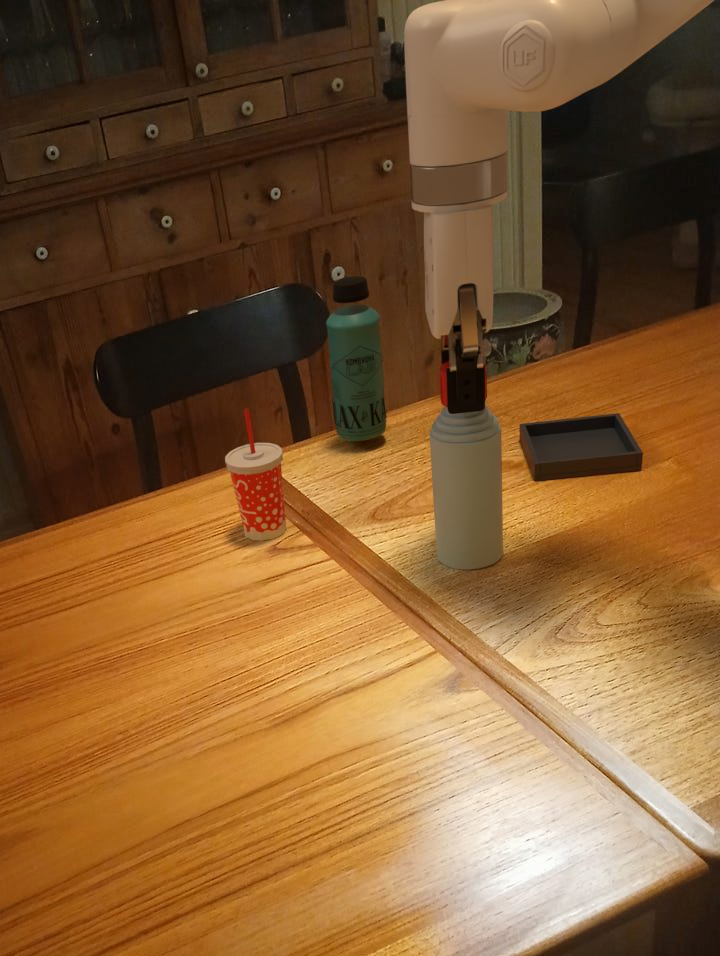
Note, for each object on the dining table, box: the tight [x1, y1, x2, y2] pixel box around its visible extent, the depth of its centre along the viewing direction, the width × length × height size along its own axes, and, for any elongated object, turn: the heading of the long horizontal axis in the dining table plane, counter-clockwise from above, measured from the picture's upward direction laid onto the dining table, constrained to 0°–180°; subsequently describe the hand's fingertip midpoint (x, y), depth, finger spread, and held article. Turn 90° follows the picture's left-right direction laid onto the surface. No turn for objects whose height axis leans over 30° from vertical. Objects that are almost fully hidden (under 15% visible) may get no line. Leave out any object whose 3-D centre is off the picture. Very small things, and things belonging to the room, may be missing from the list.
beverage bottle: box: [325, 275, 388, 442], centre depth 118 cm, size 6×7×20 cm
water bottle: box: [429, 404, 504, 571], centre depth 92 cm, size 6×6×18 cm
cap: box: [438, 360, 488, 408], centre depth 87 cm, size 4×4×3 cm
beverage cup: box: [224, 407, 287, 542], centre depth 104 cm, size 6×6×14 cm
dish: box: [519, 412, 644, 482], centre depth 111 cm, size 11×11×2 cm
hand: (463, 399), depth 88 cm, fingers closed on cap, 4 cm apart
